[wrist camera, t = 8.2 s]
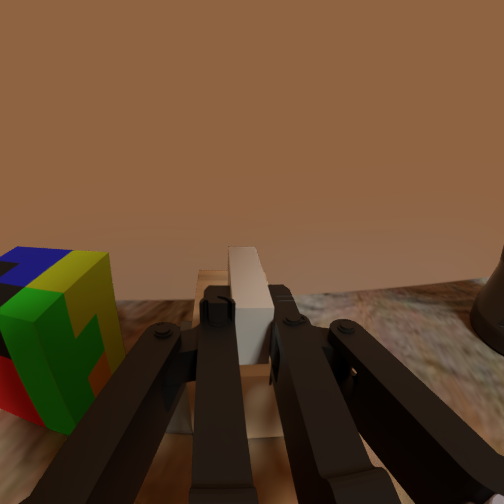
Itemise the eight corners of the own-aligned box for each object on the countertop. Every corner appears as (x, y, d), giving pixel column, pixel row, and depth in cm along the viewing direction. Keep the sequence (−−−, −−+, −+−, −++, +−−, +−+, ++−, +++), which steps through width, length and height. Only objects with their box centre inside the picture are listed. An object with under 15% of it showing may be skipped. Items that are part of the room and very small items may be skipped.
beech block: (296, 374, 16) (264, 270, 29) (186, 376, 16) (199, 270, 29) (284, 435, 18) (260, 324, 31) (194, 438, 18) (200, 324, 31)
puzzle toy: (41, 339, 26) (17, 246, 22) (126, 356, 26) (108, 252, 22) (-11, 403, 16) (-59, 296, 13) (84, 441, 16) (33, 322, 13)
